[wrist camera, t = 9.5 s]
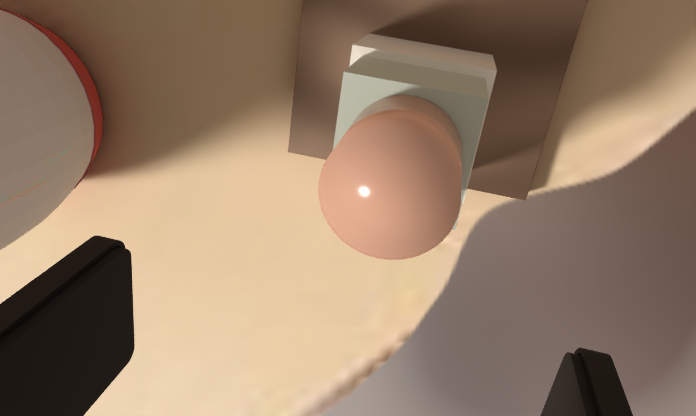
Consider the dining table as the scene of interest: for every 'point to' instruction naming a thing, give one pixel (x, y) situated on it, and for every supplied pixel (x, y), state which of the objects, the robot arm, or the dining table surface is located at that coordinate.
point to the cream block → (428, 60)
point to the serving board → (455, 32)
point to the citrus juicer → (41, 124)
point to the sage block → (431, 84)
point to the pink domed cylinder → (394, 179)
